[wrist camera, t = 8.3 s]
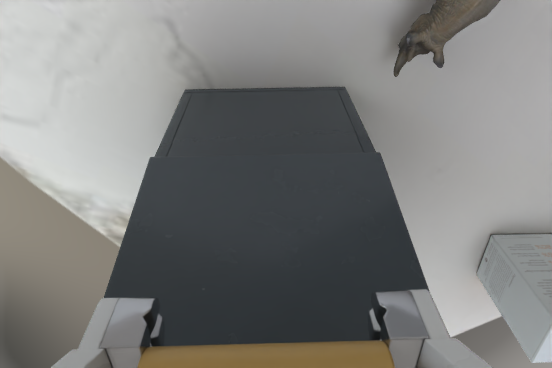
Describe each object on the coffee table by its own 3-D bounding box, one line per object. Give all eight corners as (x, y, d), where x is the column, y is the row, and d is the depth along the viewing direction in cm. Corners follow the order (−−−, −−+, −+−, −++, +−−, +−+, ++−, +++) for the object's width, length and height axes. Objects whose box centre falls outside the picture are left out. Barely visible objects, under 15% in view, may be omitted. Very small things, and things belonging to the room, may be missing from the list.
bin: (332, 230, 40) (352, 322, 31) (204, 233, 39) (186, 326, 30) (345, 86, 32) (377, 153, 23) (184, 89, 31) (153, 158, 22)
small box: (474, 273, 43) (528, 364, 34) (490, 232, 40) (554, 321, 31) (548, 272, 43) (621, 362, 35) (569, 231, 40) (655, 319, 32)
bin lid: (495, 510, 11) (581, 458, 8) (41, 526, 11) (-57, 479, 8) (378, 163, 23) (394, 84, 19) (152, 167, 22) (131, 89, 19)
